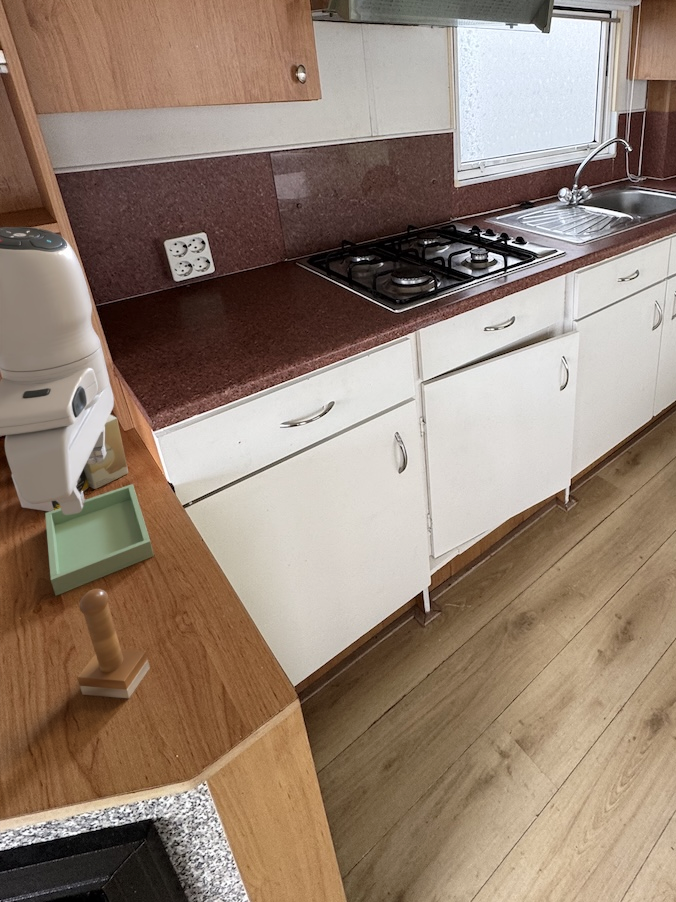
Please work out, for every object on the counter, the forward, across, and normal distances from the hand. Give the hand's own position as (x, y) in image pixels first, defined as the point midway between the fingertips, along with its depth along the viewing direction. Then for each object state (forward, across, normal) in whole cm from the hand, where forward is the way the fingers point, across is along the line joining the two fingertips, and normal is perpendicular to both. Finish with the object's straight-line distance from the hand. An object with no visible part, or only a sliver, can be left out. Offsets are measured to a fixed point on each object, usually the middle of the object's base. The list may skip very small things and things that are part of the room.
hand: (86, 483), depth 67 cm
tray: (+26, -24, -9) cm, 37 cm away
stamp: (+26, +4, -1) cm, 27 cm away
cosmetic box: (+27, -42, -12) cm, 52 cm away
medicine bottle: (+27, -39, -19) cm, 51 cm away
